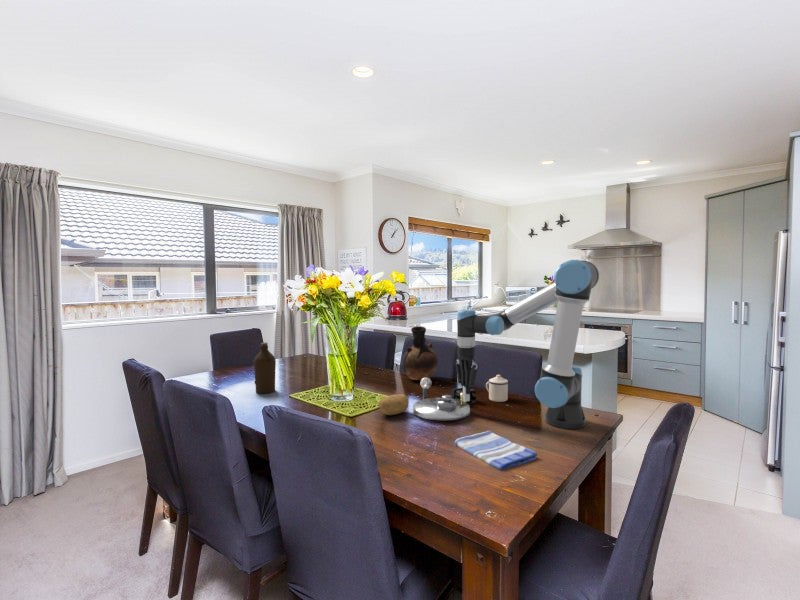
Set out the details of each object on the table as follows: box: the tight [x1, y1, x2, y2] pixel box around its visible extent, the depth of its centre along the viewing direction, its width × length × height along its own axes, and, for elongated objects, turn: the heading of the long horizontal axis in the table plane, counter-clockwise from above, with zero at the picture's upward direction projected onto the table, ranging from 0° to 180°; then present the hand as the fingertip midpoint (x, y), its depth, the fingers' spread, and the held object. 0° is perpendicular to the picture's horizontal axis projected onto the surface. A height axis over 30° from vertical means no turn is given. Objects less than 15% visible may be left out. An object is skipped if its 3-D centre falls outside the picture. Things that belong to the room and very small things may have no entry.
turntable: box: [412, 392, 471, 422], centre depth 179 cm, size 24×24×7 cm
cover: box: [437, 394, 456, 411], centre depth 177 cm, size 8×8×5 cm
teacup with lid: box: [485, 374, 509, 403], centre depth 201 cm, size 12×9×12 cm
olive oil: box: [253, 342, 277, 395], centre depth 214 cm, size 11×11×25 cm
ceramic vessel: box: [401, 325, 439, 381], centre depth 237 cm, size 21×18×30 cm
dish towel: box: [454, 430, 538, 471], centre depth 142 cm, size 17×24×3 cm
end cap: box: [450, 386, 477, 405], centre depth 195 cm, size 10×7×7 cm
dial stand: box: [419, 377, 432, 400], centre depth 193 cm, size 4×5×12 cm
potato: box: [377, 393, 409, 416], centre depth 179 cm, size 10×14×8 cm
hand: (466, 400), depth 180 cm, fingers closed
